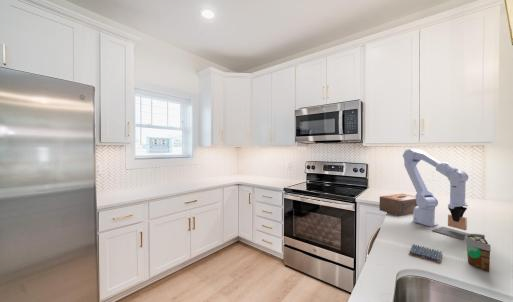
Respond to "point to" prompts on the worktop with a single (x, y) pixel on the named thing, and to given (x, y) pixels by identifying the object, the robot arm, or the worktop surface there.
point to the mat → (451, 232)
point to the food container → (478, 251)
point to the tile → (460, 225)
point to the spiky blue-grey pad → (426, 253)
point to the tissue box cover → (398, 204)
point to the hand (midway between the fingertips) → (457, 220)
